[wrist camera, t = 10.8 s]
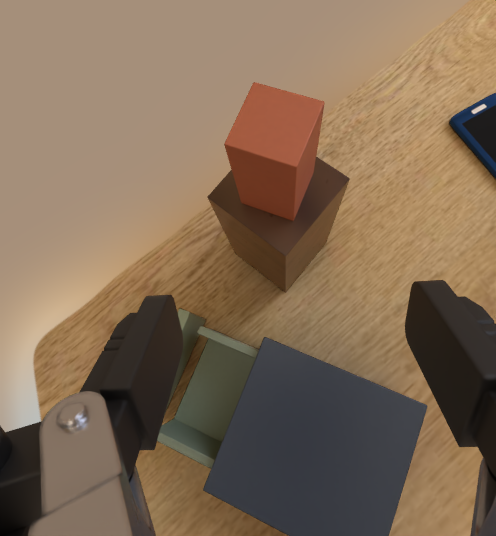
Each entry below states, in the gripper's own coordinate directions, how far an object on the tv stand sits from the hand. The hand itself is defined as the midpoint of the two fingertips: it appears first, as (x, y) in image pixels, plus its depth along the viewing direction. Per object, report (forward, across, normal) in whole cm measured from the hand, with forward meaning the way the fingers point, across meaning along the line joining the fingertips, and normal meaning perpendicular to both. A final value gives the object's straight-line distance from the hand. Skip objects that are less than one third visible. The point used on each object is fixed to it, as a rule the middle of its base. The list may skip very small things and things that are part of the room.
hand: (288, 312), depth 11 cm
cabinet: (+15, -2, +28) cm, 32 cm away
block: (+18, 0, +2) cm, 18 cm away
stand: (+30, 0, +13) cm, 33 cm away
